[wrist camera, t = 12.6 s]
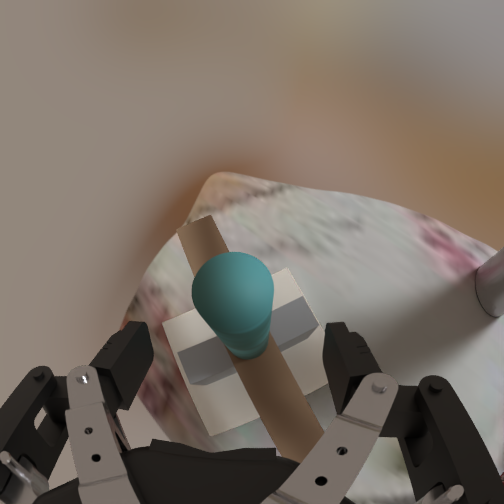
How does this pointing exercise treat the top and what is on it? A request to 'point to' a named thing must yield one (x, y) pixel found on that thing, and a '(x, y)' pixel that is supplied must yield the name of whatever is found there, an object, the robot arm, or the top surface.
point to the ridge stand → (221, 366)
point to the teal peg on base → (249, 334)
